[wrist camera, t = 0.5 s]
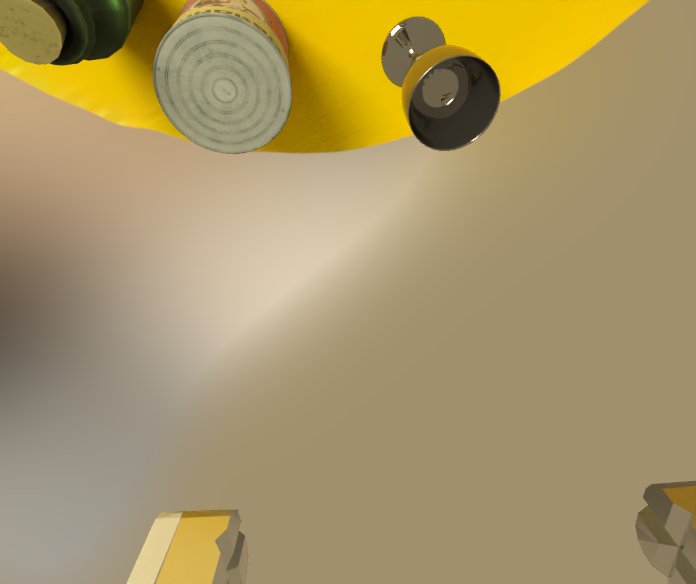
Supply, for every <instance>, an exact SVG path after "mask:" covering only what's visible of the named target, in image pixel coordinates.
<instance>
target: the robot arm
mask: <svg viewBox="0 0 696 584" xmlns="http://www.w3.org/2000/svg"><path fill="white" fill-rule="evenodd" d="M643 498H644V500H645V501H646V502H647V504H648V505H647V506H646V507H645V508H644V509H642V510H641V511H640V512H639V513H638V516H637V520H636V524H635V527H636V532H637V537H638V541H639V543H640V546H641V548H642V550H643V553H644V554H645V556H646V557H647V559H648V561H649V562H650V564H651V565H652V566H653V567H654V568H656V569H657V570H658V571H660V572H661V573H663V574H664V575H665V576H667V577H668V584H696V481H686V482H672V483H659V484H651V485H650V486H648V487H647V488H646V489H645V492H644V496H643ZM240 523H241V519H240V515H239V513H238V510H206V511H178V512H162V513H161V514H160V515H159V516H158V518H157V519H156V520H155V521H154V523H153V525H152V528H151V530H150V532H149V535H148V537H147V539H146V541H145V543H144V546H143V548H142V550H141V552H140V555H139V557H138V559H137V562H136V564H135V566H134V568H133V571H132V573H131V575H130V577H129V579H128V582H127V584H245V580H246V574H247V564H248V548H247V541H246V537H245V535H244V534H242V533H241V532H240V531H239V528H240Z"/></svg>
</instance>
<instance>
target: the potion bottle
mask: <svg viewBox="0 0 696 584" xmlns="http://www.w3.org/2000/svg"><path fill="white" fill-rule="evenodd" d="M143 2H144V0H0V42H1V43H2V44H3V45H4V46H5V47H6V48H7V49H8V50H9V51H10V52H11V53H12V54H14V55H15V56H17V57H19V58H21V59H22V60H24V61H26V62H30V63H34V64H38V65H40V64H47V63H49V64H53V65H70V64H77V63H79V62H81V61H82V60H83V59H84V60H88V61H89V60H97V59H104V58H108V57H110V56H111V55H113V54H114V53H115V52H117V51H118V50H119V49H121V48H122V47H123V45H124V43H125V40H126V38H127V36H128V34H129V32H130V30H131V28H132V26H133V24H134V21H135V19H136V17H137V15H138V13H139V11H140V9H141V6H142V4H143Z"/></svg>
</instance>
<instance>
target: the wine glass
mask: <svg viewBox="0 0 696 584" xmlns="http://www.w3.org/2000/svg"><path fill="white" fill-rule="evenodd" d="M382 66H383V69H384V72H385V74H386V76H387V77H388V79H389V80H390V81H391V82H393V83H394V84H395V85H397V86H399V87H402V105H403V110H404V115H405V117H406V120H407V122H408V124H409V127H410V129H411V130H412V132H413V134H414V135H415V136H416V138H417V139H418V140H419V141H420V142H421V143H422V144H424V145H425V146H427V147H429V148H432V149H434V150H439V151H450V150H456V149H459V148H462V147H464V146H466V145H468V144H470V143H472V142H473V141H475V140H476V139H477V138H479V136H481V135H482V134H483V133H484V132H485V131H486V129H487V128H488V127H489V126H490V124H491V123H492V121H493V119H494V117H495V115H496V113H497V110H498V107H499V103H500V96H501V95H500V84H499V80H498V78H497V75H496V73H495V72H494V70H493V69H492V68H491V66H490V65H489V64H488V63H487V62H486V61H484V60H483V59H482V58H481V57H480V56H478V55H477V54H475V53H474V52H472V51H470V50H468V49H465V48H462V47H459V46H455V45H445V39H444V35H443V33H442V31H441V29H440V28H439V26H438V25H437V24H436V23H435V22H433V21H432V20H430V19H428V18H425V17H411V18H408V19H405V20H403V21H402V22H400V23H399V24H397V25H396V26H395V27H394V28H393V29H392V30H391V31H390V33H389V34H388V36H387V38H386V40H385V42H384V45H383V49H382Z"/></svg>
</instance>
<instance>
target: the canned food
mask: <svg viewBox="0 0 696 584" xmlns="http://www.w3.org/2000/svg"><path fill="white" fill-rule="evenodd" d="M153 82H154V88H155V92H156V95H157V98H158V101H159V103H160V106H161V108H162V110H163V111H164V113H165V115H166V116H167V118H168V119H169V120H170V122H171V123H172V124H173V125H174V126H175V128H176V129H177V130H178V131H179V132H181V133H182V134H183V135H184V136H185V137H187V138H188V139H189V140H191V141H192V142H194V143H196V144H197V145H199V146H202V147H204V148H206V149H209V150H212V151H215V152H221V153H227V154H239V153H246V152H250V151H253V150H256V149H258V148H261V147H263V146H264V145H266V144H267V143H269V142H270V141H271V140H273V139H274V138H275V137H276V136H277V135H278V133H279V132H280V131H281V129H282V128H283V126H284V125H285V123H286V121H287V118H288V116H289V113H290V109H291V104H292V83H291V78H290V71H289V48H288V41H287V36H286V33H285V30H284V27H283V25H282V23H281V21H280V19H279V17H278V16H277V14H276V13H275V11H274V10H273V9H272V8H271V6H270V5H269V4H268V3H267V2H266V1H265V0H188V2H187V3H186V4H185V6H184V7H183V9H182V11H181V13H180V16H179V17H178V19H177V20H176V22H175V23H174V25H173V26H172V28H171V29H170V30H169V31H168V32H167V33H166V34H165V36H164V37H163V39H162V40H161V42H160V44H159V46H158V48H157V51H156V54H155V58H154V63H153Z"/></svg>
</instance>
